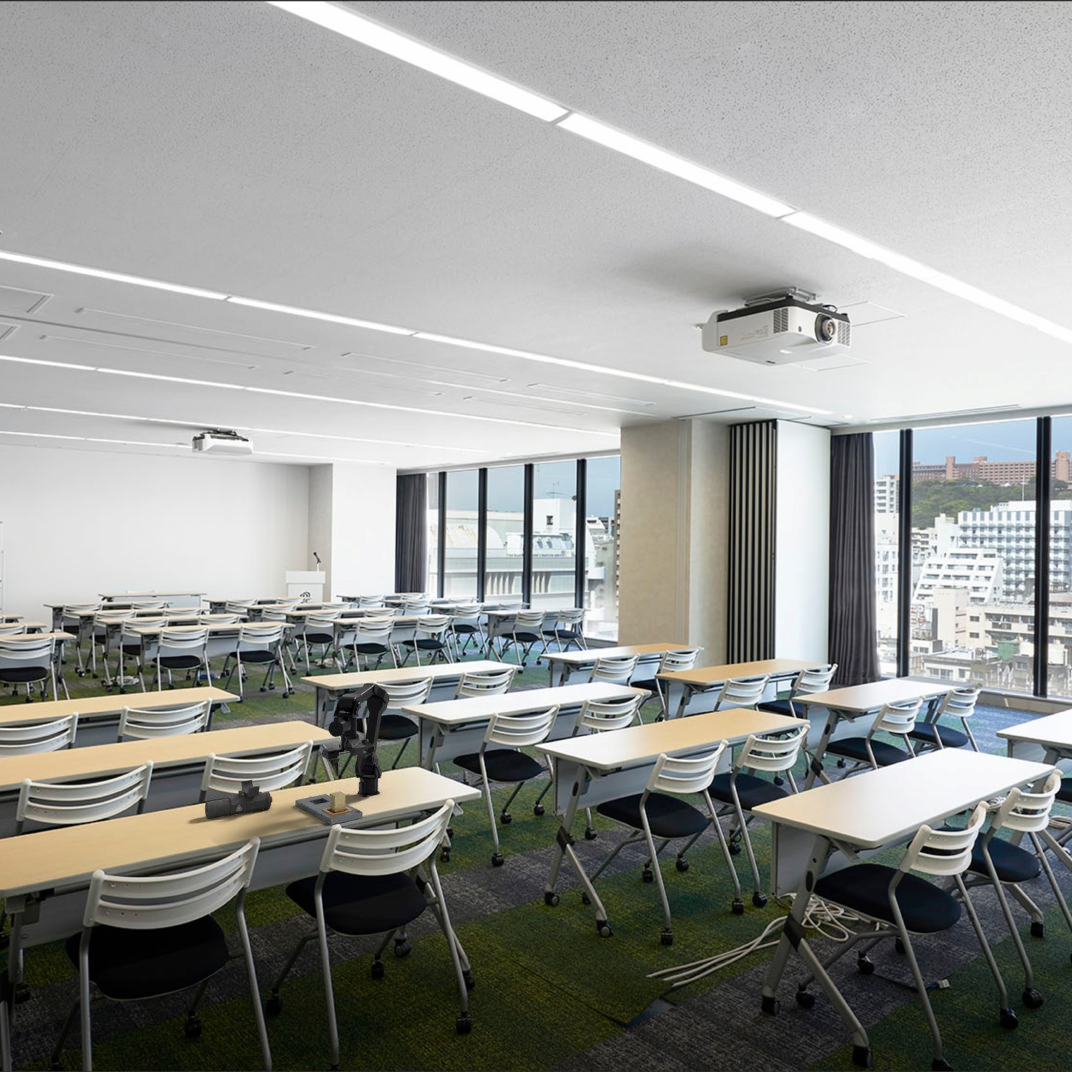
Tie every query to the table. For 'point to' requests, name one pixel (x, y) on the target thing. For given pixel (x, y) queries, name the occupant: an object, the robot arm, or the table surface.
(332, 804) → the brass peg
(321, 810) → the socket plate
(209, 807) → the laser sight
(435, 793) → the table surface
